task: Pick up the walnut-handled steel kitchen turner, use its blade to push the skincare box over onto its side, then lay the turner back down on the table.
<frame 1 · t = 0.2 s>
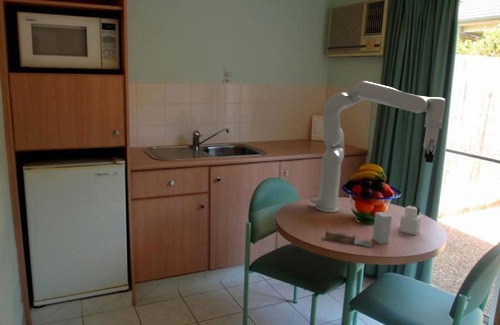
hand: (428, 160, 200), 31 cm above the table, tool pointing down, fingers open, 9 cm apart
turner: (339, 240, 179), on the table
skincare box: (380, 241, 181), on the table
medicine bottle: (409, 231, 195), on the table
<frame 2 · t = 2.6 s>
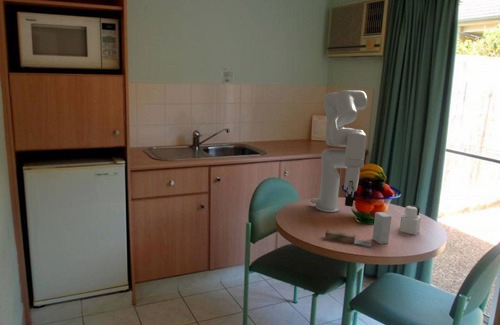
hand: (350, 202, 175), 17 cm above the table, tool pointing down, fingers open, 9 cm apart
nothing on the table moved.
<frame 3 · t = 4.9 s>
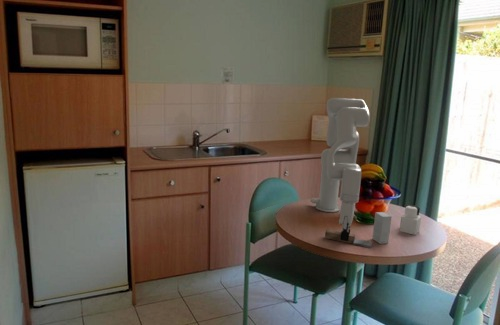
hand: (344, 238, 178), 1 cm above the table, tool pointing down, fingers closed on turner, 2 cm apart
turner: (339, 239, 179), on the table, touching gripper
everything else where it was.
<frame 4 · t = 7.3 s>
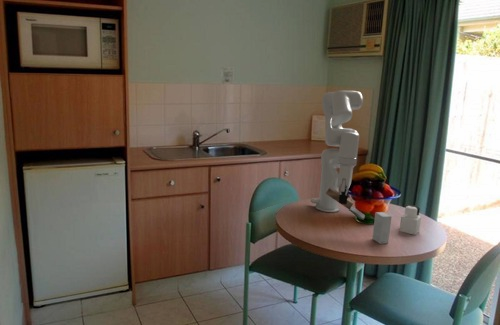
hand: (343, 202, 183), 15 cm above the table, tool pointing down, fingers closed on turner, 2 cm apart
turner: (337, 200, 184), point 15 cm above the table, tilted 28°, touching gripper
everything else where it was.
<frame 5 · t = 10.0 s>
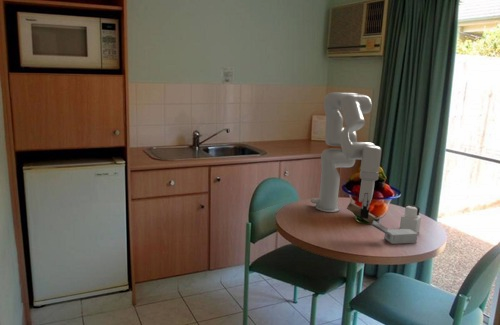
hand: (364, 216, 181), 10 cm above the table, tool pointing down, fingers closed on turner, 2 cm apart
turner: (359, 215, 182), point 10 cm above the table, tilted 25°, touching gripper
skincare box: (387, 236, 180), point 2 cm above the table
everything else where it was.
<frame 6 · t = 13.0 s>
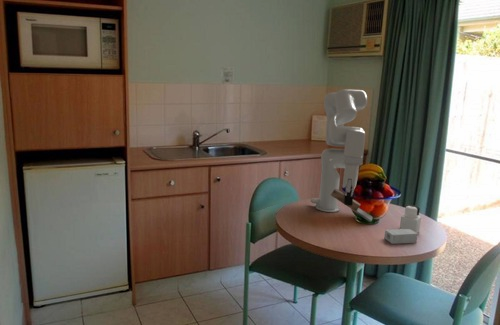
hand: (348, 203, 174), 17 cm above the table, tool pointing down, fingers closed on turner, 2 cm apart
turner: (343, 202, 175), point 17 cm above the table, tilted 27°, touching gripper
everything else where it was.
when the fingers open (3 cm above the table, at t = 16.1 s): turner drops 3 cm, on the table.
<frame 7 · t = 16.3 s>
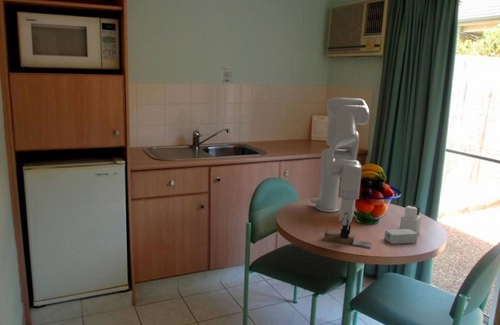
hand: (345, 235, 177), 3 cm above the table, tool pointing down, fingers open, 4 cm apart
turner: (338, 241, 179), on the table
everything else where it was.
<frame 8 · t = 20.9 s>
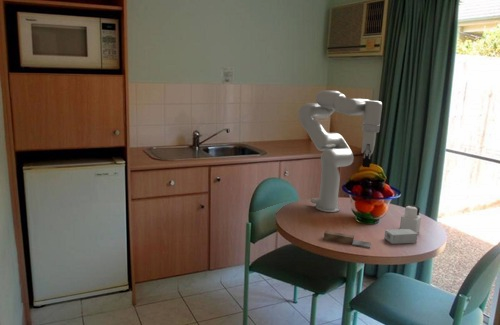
hand: (366, 165, 196), 28 cm above the table, tool pointing down, fingers open, 9 cm apart
nothing on the table moved.
at the end: skincare box tilted 90°; the gripper is holding nothing; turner on the table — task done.
